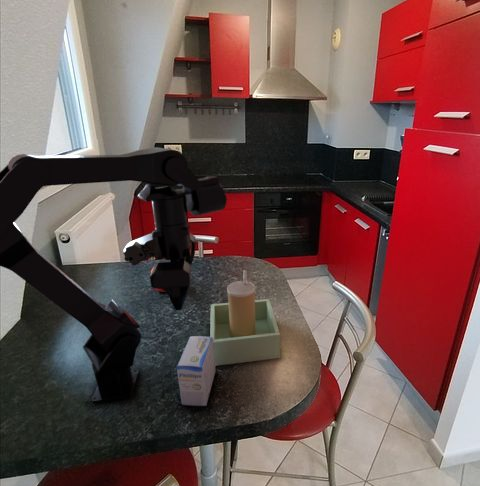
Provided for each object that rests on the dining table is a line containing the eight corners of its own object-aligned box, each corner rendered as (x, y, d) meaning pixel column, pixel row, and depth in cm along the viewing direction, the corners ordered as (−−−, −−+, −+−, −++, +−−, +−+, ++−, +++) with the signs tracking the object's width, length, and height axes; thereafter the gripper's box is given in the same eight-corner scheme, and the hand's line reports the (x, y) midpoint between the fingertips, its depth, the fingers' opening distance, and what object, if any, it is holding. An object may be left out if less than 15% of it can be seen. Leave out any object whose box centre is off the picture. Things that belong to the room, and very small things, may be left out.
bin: (279, 358, 66) (279, 334, 64) (212, 366, 63) (210, 342, 61) (269, 319, 78) (269, 298, 76) (212, 325, 76) (210, 304, 74)
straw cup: (257, 341, 69) (256, 278, 64) (230, 344, 68) (226, 280, 63) (254, 325, 75) (252, 265, 69) (229, 328, 74) (225, 267, 68)
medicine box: (193, 371, 62) (189, 335, 59) (216, 372, 62) (213, 335, 59) (181, 406, 55) (175, 366, 52) (207, 407, 55) (203, 366, 51)
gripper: (135, 209, 65) (147, 278, 70) (107, 242, 48) (125, 330, 53) (192, 206, 66) (199, 274, 72) (185, 238, 49) (194, 323, 55)
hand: (181, 296), depth 63 cm, fingers open, 9 cm apart
